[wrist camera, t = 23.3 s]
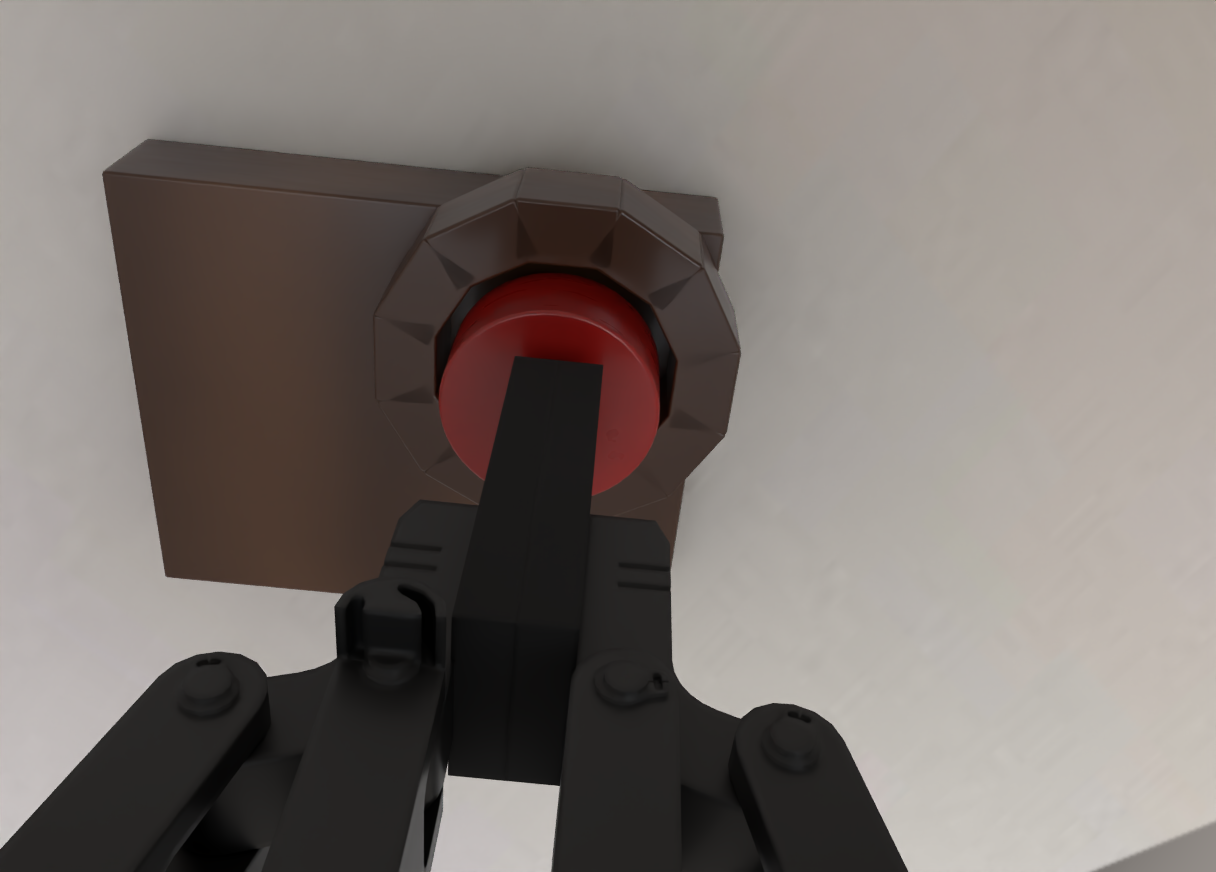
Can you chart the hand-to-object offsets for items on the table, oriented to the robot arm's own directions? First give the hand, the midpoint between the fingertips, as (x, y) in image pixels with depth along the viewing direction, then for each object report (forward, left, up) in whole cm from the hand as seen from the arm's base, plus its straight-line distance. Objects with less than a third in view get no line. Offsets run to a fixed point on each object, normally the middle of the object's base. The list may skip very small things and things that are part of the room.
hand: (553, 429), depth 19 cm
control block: (+3, +3, -6) cm, 7 cm away
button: (0, 0, -3) cm, 3 cm away
